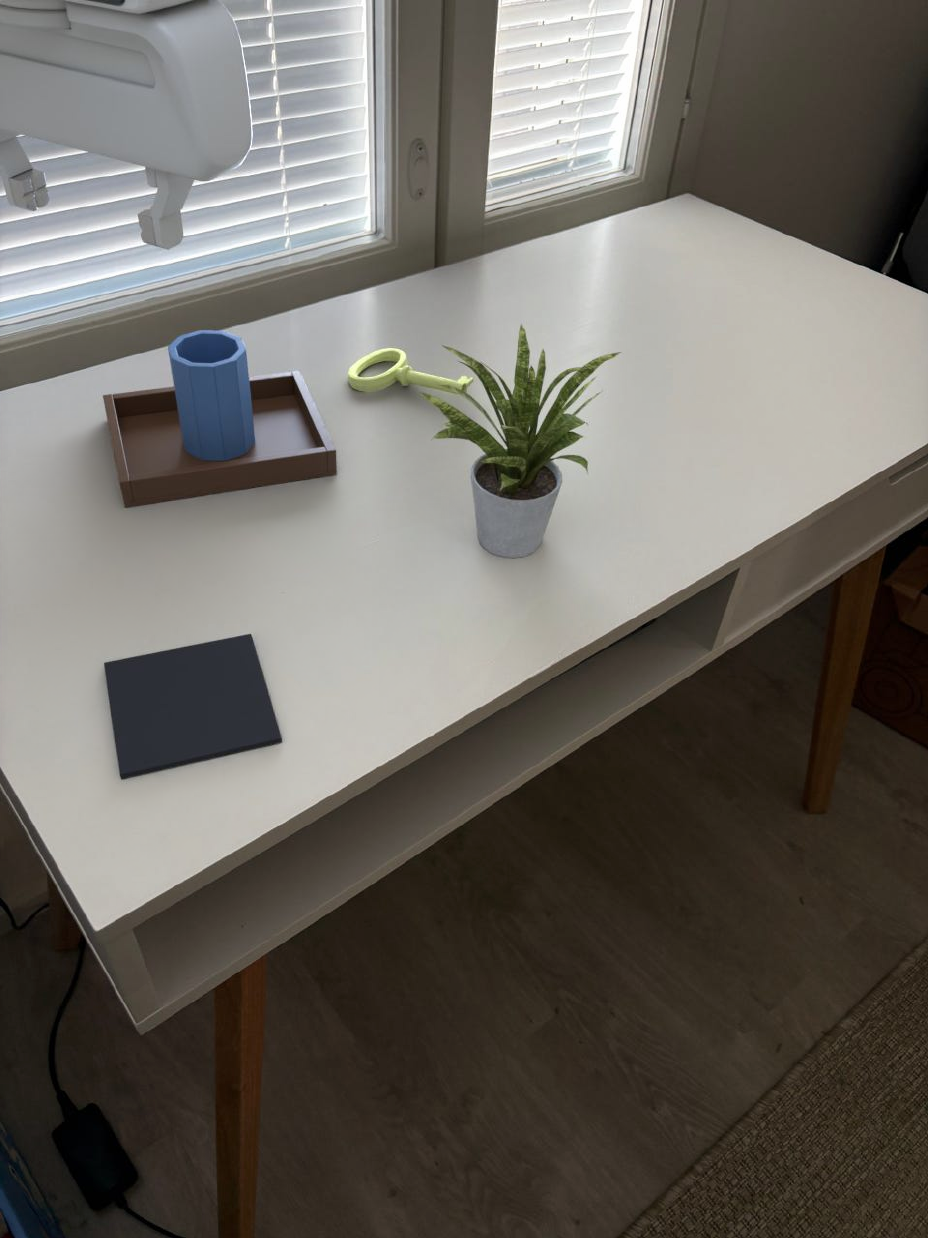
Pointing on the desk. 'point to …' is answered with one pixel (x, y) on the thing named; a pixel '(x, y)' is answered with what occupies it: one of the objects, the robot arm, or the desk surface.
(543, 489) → the house plant
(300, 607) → the desk surface
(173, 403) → the tray
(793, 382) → the desk surface
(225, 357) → the blue faceted tube
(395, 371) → the key
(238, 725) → the mat
